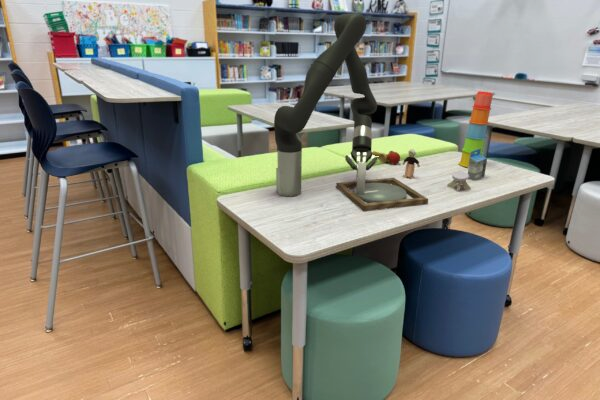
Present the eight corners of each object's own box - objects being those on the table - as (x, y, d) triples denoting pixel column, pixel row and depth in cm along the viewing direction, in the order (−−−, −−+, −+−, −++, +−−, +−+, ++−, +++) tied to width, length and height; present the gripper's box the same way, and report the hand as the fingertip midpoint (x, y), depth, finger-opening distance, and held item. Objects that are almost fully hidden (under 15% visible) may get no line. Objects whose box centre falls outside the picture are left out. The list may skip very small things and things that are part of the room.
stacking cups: (462, 161, 212) (473, 89, 200) (483, 164, 207) (496, 91, 194) (455, 166, 204) (466, 92, 192) (477, 169, 199) (490, 93, 186)
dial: (400, 207, 153) (403, 171, 148) (347, 199, 161) (348, 164, 156) (410, 190, 170) (414, 157, 165) (362, 183, 178) (364, 151, 173)
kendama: (366, 160, 217) (391, 164, 202) (368, 148, 216) (392, 151, 201) (378, 161, 221) (403, 165, 206) (379, 149, 220) (404, 152, 205)
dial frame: (363, 211, 150) (363, 205, 150) (336, 187, 174) (336, 182, 173) (427, 204, 158) (428, 198, 157) (393, 182, 181) (393, 177, 180)
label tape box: (474, 181, 183) (479, 153, 179) (465, 178, 186) (470, 151, 182) (484, 177, 189) (489, 149, 184) (475, 174, 192) (480, 148, 187)
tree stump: (451, 182, 181) (453, 169, 179) (473, 187, 176) (475, 173, 174) (444, 189, 174) (445, 175, 172) (466, 193, 169) (468, 179, 167)
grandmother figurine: (399, 177, 187) (402, 149, 182) (401, 175, 190) (404, 147, 185) (417, 179, 184) (421, 151, 179) (419, 177, 187) (422, 149, 183)
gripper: (345, 134, 167) (342, 173, 160) (379, 135, 165) (378, 175, 158) (345, 144, 174) (342, 182, 167) (378, 145, 172) (377, 184, 165)
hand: (360, 178), depth 162 cm, fingers closed
